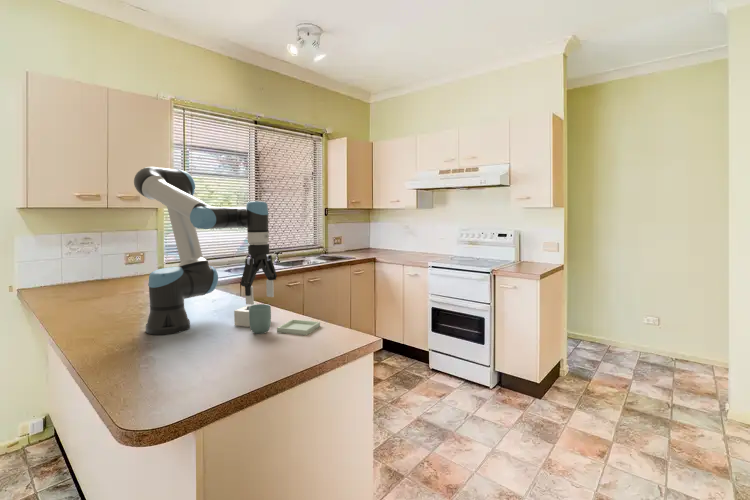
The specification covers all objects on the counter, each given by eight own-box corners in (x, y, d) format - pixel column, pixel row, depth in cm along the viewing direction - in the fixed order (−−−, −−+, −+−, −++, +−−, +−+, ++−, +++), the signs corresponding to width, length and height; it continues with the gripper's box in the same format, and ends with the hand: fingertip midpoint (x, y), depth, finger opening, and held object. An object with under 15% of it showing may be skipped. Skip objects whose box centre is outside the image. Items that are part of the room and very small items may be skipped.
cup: (265, 336, 143) (264, 309, 142) (245, 334, 145) (245, 308, 144) (274, 330, 151) (274, 304, 150) (256, 328, 152) (255, 303, 151)
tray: (277, 332, 148) (276, 327, 148) (292, 323, 160) (292, 319, 159) (306, 335, 145) (306, 330, 144) (320, 326, 156) (320, 321, 156)
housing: (234, 325, 157) (234, 310, 156) (249, 318, 166) (248, 305, 166) (256, 327, 154) (256, 312, 153) (270, 320, 163) (269, 306, 163)
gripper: (247, 246, 132) (249, 308, 133) (284, 241, 155) (286, 294, 157) (228, 246, 134) (230, 307, 136) (267, 241, 158) (269, 293, 159)
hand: (260, 300), depth 146 cm, fingers open, 13 cm apart
